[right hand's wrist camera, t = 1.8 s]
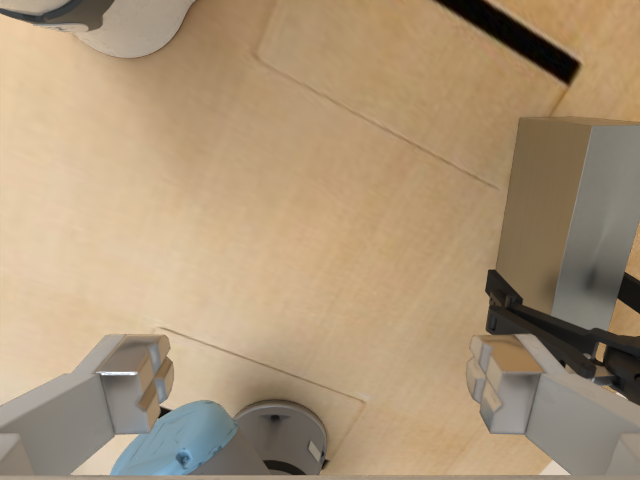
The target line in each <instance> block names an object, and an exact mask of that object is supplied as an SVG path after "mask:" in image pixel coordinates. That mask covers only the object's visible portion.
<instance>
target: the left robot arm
mask: <svg viewBox="0 0 640 480" xmlns="http://www.w3.org/2000/svg"><path fill="white" fill-rule="evenodd" d="M485 292H486V293H487V294H488V295H489V297H490V300H489V304H490V306H489V310H488V316H487V323H486V331H487V332H489V333H490V334H492V335H511V334H532V335H534V336H536V337H537V338H538V340H539V341H540V342H541V343H542V344H543V345H544V346H545V347H546V349H547V350H548V351H549V352H550V353H551V354H552V355H553V356H554V357H555V359H556V360H557V361H558V362H559V363H560V364H561V365H562V366H563V367H564V369H565V370H566V371H567V372H568V373H569V374H577V375H579V376H581V377H583V378H585V379H587V380H589V381H591V382H593V383H595V384H597V385H599V386H607V385H608V386H609V387H610V388H612V389H613V390H615V391H617V392H619V393H620V394H622V395H623V396H625V397H626V398H627V399H628V400H629V401H631V402H633V403H635V404H637V405H639V406H640V336H637V337H632V336H624V335H616V334H613V333H610V332H608V331H605V330H602V329H600V328H593V329H591V330H587V329H585V328H582V327H579V326H577V325H574V324H572V323H569V322H566V321H564V320H561V319H559V318H556V317H553V316H551V315H548V314H545V313H543V312H540V311H538V310H535V309H532V308H530V307H527V306H524V305H522V303H523V298H522V297H521V296H520V295H519V294H518V293H517V292H516V291H515V290H514V289H513V288H512V287H511V286H510V285H509V284H508V283H507V281H506V280H505V279H504V278H503V277H502V276H501V275H500V274H499V273H498V272H497V271H496V270H488V276H487V283H486V289H485ZM617 298H618V299H619V300H621V301H622V302H624V303H625V304H626V305H628V306H629V307H631V308H632V309H634V310H635V311H636V312H638V313H639V314H640V281H639V280H637V279H636V278H634V277H632V276H631V275H629V274H627V273H626V272H624V275H623V279H622V282H621V286H620V289H619V293H618V296H617ZM599 342H601V343H604V344H606V349H605V352H604V356H603V363H602V362H600V361H598V360H597V359H596V358H595V355H596V351H597V348H598V345H599ZM326 449H327V438H326V431H325V428H324V426H323V424H322V422H321V421H320V419H319V418H318V417H317V416H316V415H315V414H314V413H313V412H311V411H310V410H309V409H307V408H305V407H303V406H301V405H299V404H296V403H293V402H289V401H283V400H267V401H261V402H257V403H254V404H252V405H249V406H247V407H246V408H244V409H243V410H241V411H240V412H239V413H238V414H237V415H236V416H235V417H234V418H233V419H232V418H231V417H230V416H229V414H228V413H227V412H226V411H225V410H224V408H223V407H222V406H221V405H219V404H217V403H215V402H213V401H208V400H202V401H196V402H192V403H189V404H186V405H183V406H181V407H179V408H177V409H175V410H173V411H171V412H169V413H168V414H166V415H164V416H163V417H161V418H160V419H158V420H157V421H156V422H155V424H154V426H153V428H152V430H151V432H150V434H140V435H138V436H137V437H136V438H135V439H134V440H133V441H132V442H131V443H130V444H129V446H128V447H127V448H126V449H125V450H124V452H123V453H122V454H121V455H120V457H119V458H118V460H117V461H116V463H115V465H114V466H113V468H112V471H111V473H110V475H319V474H320V471H321V468H322V465H323V462H324V459H325V455H326Z"/></svg>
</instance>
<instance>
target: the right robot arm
mask: <svg viewBox="0 0 640 480" xmlns="http://www.w3.org/2000/svg"><path fill="white" fill-rule="evenodd" d="M195 1H196V0H0V13H1V14H3V15H6V16H9V17H12V18H15V19H18V20H21V21H25V22H28V23H31V24H33V26H37V27H41V28H45V29H50V30H54V31H59V32H66V33H73V34H74V35H75V36H77V37H78V38H79V39H80V40H81V41H83V42H84V43H85V44H87V45H88V46H90V47H92V48H93V49H95V50H97V51H99V52H102V53H104V54H107V55H110V56H114V57H120V58H136V57H142V56H145V55H149V54H151V53H153V52H155V51H157V50H159V49H160V48H162V47H163V46H164V45H166V44H167V43H168V42H169V41H170V40H171V39H172V38H173V36H174V35H175V34H176V32H177V31H178V29H179V28H180V26H181V24H182V22H183V19H184V17H185V15H186V13H187V11H188V9H189V7H190V6H191V4H192V3H194V2H195ZM169 350H170V344H169V339H168V337H167V336H166V335H150V334H109V335H105V336H104V337H103V338H102V340H101V341H100V342H99V343H98V344H97V345H96V346H95V347H94V349H93V350H92V351H91V352H90V353H89V354H88V355H87V356H86V357H85V359H84V360H83V361H82V362H81V363H80V364H79V365H78V366H77V367H76V369H75V370H74V371H73V372H72V373H71V374H63V375H61V376H59V377H57V378H55V379H53V380H51V381H49V382H47V383H45V384H43V385H41V386H39V387H37V388H35V389H33V390H31V391H29V392H27V393H25V394H23V395H21V396H19V397H17V398H15V399H13V400H11V401H9V402H7V403H5V404H3V405H1V406H0V480H640V406H639V405H637V404H635V403H633V402H631V401H629V400H627V399H625V398H623V397H621V396H619V395H617V394H615V393H613V392H611V391H609V390H607V389H605V388H603V387H601V386H599V385H597V384H595V383H593V382H591V381H589V380H587V379H585V378H583V377H581V376H579V375H577V374H569V373H568V372H567V371H566V370H565V369H564V367H563V366H562V365H561V364H560V363H559V362H558V361H557V360H556V359H555V357H554V356H553V355H552V354H551V353H550V352H549V351H548V350H547V349H546V347H545V346H544V345H543V344H542V343H541V342H540V341H539V340H538V338H537V337H536V336H534V335H532V334H511V335H473V337H472V339H471V343H470V350H471V352H472V354H473V355H474V356H473V357H472V358H471V359H470V360H469V361H468V362H467V368H466V380H467V386H468V389H469V392H470V394H471V396H472V398H473V399H474V400H475V401H476V402H478V403H479V404H481V406H480V414H481V416H482V418H483V420H484V422H485V424H486V426H487V428H488V430H489V432H490V434H522V435H525V436H526V437H527V438H528V439H529V440H530V441H532V442H533V443H534V444H535V445H536V446H538V447H539V448H540V449H541V450H542V451H543V452H545V453H546V454H547V455H548V456H549V457H551V458H552V459H553V460H554V461H555V462H557V463H558V464H559V465H560V466H561V467H562V468H564V469H565V470H566V471H567V472H568V473H570V474H571V475H69V474H71V473H72V472H73V471H74V470H75V469H76V468H78V467H79V466H80V465H81V464H82V463H84V462H85V461H86V460H87V459H88V458H90V457H91V456H92V455H93V454H94V453H96V452H97V451H98V450H99V449H100V448H101V447H103V446H104V445H105V444H106V443H107V442H109V441H110V440H111V439H112V438H113V437H114V435H118V434H150V432H151V430H152V428H153V426H154V424H155V422H156V420H157V418H158V416H159V414H160V406H159V404H161V403H162V402H164V401H165V400H166V399H167V398H168V396H169V394H170V392H171V390H172V385H173V381H174V367H173V362H172V361H171V360H170V359H169V358H168V357H167V356H166V355H167V354H168V352H169Z"/></svg>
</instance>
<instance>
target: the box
mask: <svg viewBox="0 0 640 480" xmlns="http://www.w3.org/2000/svg"><path fill="white" fill-rule="evenodd" d="M639 220H640V122H631V121H619V120H608V119H596V118H584V117H525V118H520V120H519V126H518V132H517V139H516V145H515V151H514V158H513V164H512V170H511V176H510V183H509V189H508V195H507V202H506V208H505V214H504V221H503V227H502V233H501V240H500V246H499V252H498V258H497V265H496V271H497V272H498V273H499V274H500V275H501V276H502V277H503V278H504V279H505V280H506V281H507V283H508V284H509V285H510V286H511V287H512V288H513V289H514V290H515V291H516V292H517V293H518V294H519V295H520V296H521V297H522V298H523V303H522V305H524V306H527V307H530V308H532V309H535V310H538V311H540V312H543V313H545V314H548V315H551V316H553V317H556V318H559V319H561V320H564V321H566V322H569V323H572V324H574V325H577V326H579V327H582V328H585V329H587V330H591V329H593V328H600V329H602V330H605V331H608V327H609V324H610V321H611V317H612V314H613V310H614V307H615V303H616V300H617V296H618V293H619V289H620V286H621V282H622V279H623V275H624V272H625V269H626V265H627V262H628V258H629V255H630V251H631V248H632V244H633V241H634V237H635V234H636V230H637V227H638V223H639Z"/></svg>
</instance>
